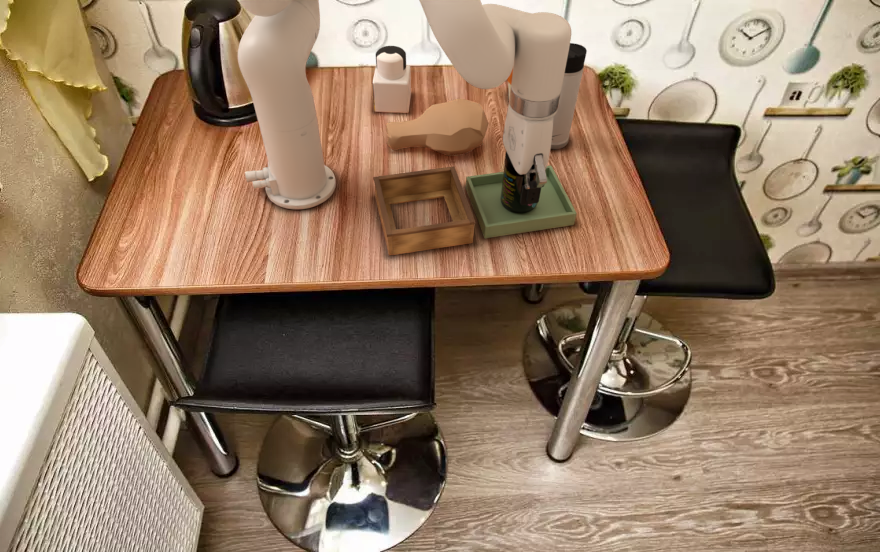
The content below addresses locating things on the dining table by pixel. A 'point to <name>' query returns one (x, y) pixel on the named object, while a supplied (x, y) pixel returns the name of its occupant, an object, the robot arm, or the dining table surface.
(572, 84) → the travel mug
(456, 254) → the dining table surface
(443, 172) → the brown wooden square frame
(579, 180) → the dining table surface
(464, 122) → the squash
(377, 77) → the white block figurine
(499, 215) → the tray
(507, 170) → the supplement container
